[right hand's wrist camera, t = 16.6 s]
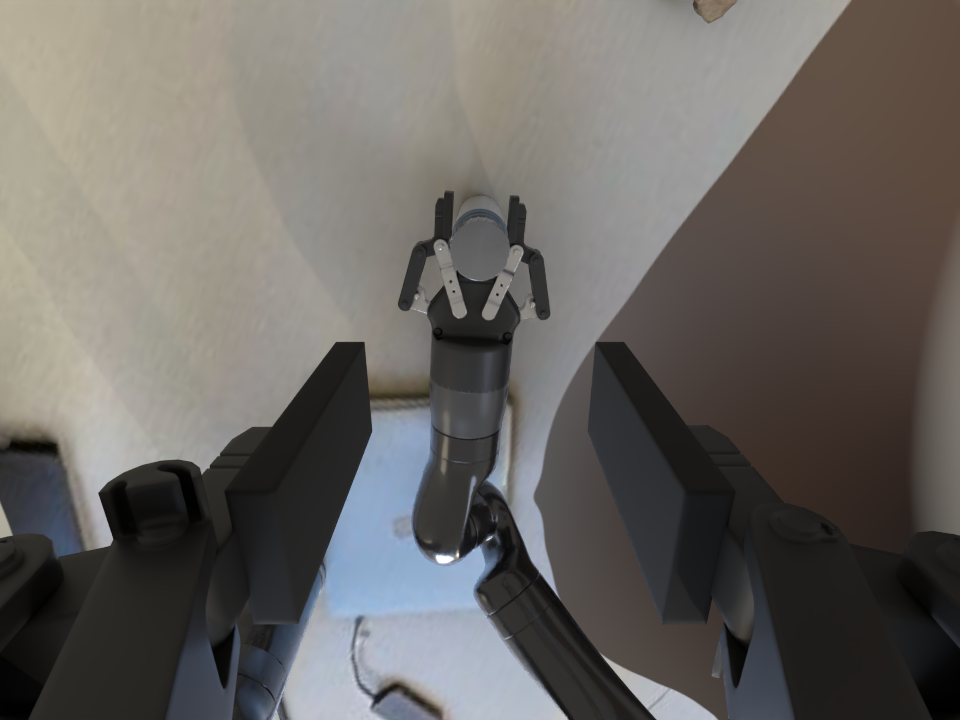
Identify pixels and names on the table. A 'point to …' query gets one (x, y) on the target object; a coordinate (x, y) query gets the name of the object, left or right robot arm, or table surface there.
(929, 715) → the right robot arm
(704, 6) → the stone
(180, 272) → the table surface
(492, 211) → the bottle
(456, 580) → the table surface
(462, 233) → the cap
